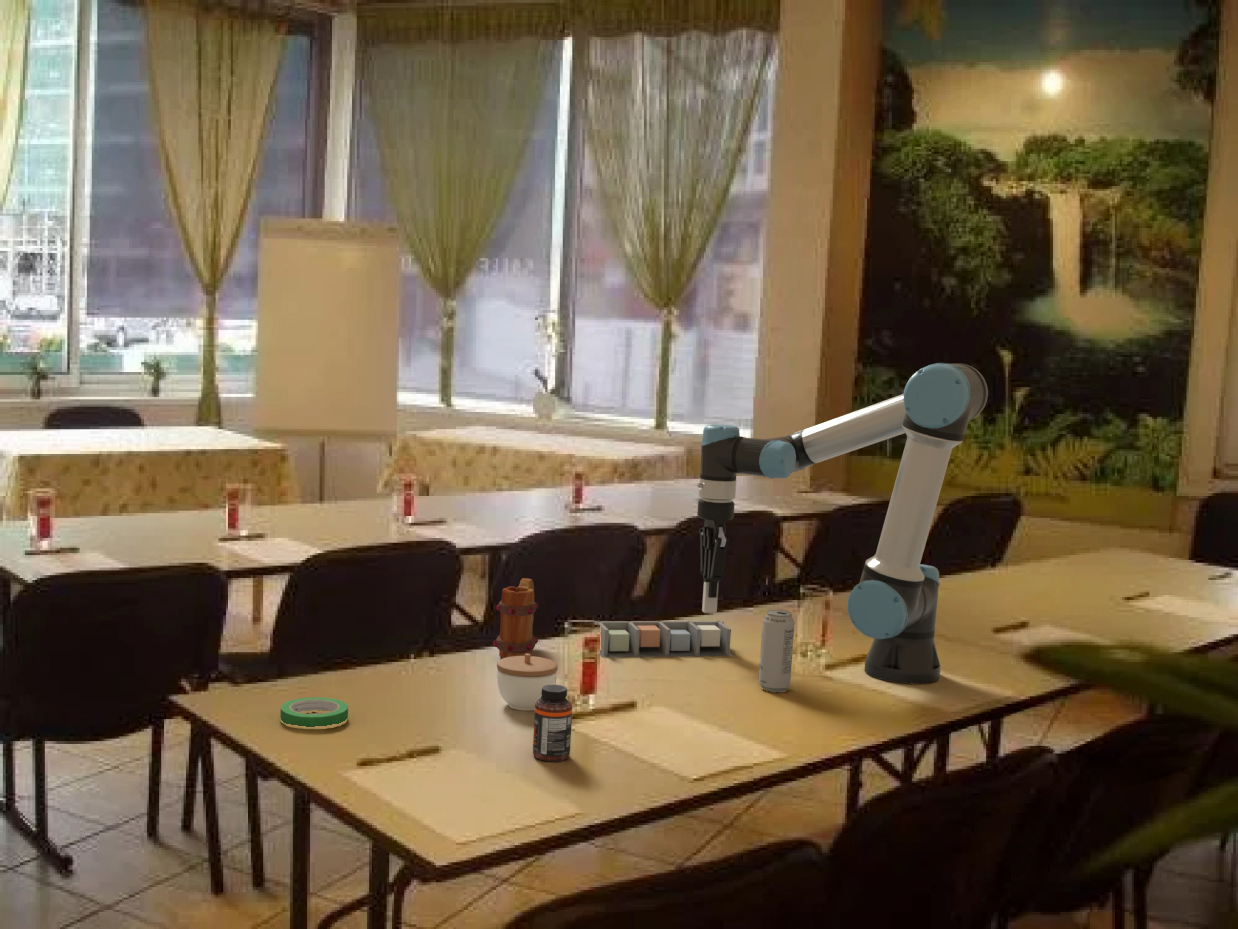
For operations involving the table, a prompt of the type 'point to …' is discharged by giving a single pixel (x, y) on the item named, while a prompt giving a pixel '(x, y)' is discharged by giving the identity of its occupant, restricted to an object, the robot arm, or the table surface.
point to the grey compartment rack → (665, 639)
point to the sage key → (618, 640)
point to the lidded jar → (524, 679)
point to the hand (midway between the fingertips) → (709, 611)
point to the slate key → (679, 640)
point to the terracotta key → (649, 636)
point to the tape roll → (314, 703)
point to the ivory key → (709, 635)
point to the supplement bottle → (552, 724)
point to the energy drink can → (776, 650)
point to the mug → (516, 620)
